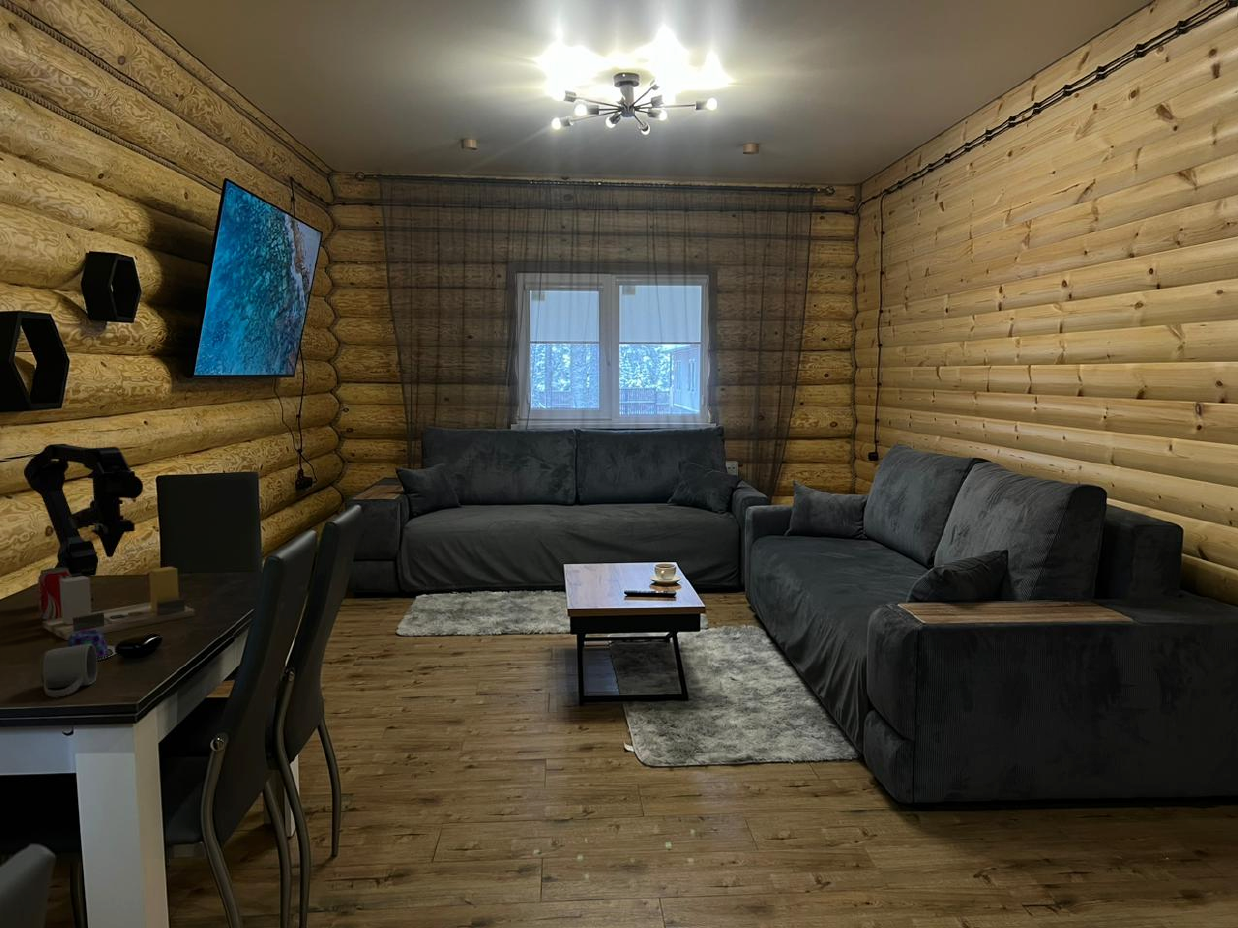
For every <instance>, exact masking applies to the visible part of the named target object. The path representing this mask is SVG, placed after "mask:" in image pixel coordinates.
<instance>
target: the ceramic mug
mask: <svg viewBox="0 0 1238 928" xmlns="http://www.w3.org/2000/svg"><path fill="white" fill-rule="evenodd" d="M38 667H39V668H38V671H39V679H40V682H41V684H42V685H43V690H44V693H45V695H46V696H49V697H51V698H60V697H59V696H63V697H66V696H65V695H67V696H68V695H71V694H73V693H75V692H76V691H77V690H78V689H80V687H85V686H91V684H92V683H93V682H94V681H95V682H96V679H97V674H98V660H97V654H96V650H95V648H94V646H93V645H92V644H84V645H78V646H72V647H67V646H66V647H59V648H58V647H57V648H53V649H50V650H48V651H45V652H44V653H42V655H41V657H40V661H39V666H38ZM89 681H91V682H89ZM95 682H94V683H95ZM94 683H93V684H94ZM93 684H92V685H93ZM61 687H62V688H64V689H61ZM52 689H58V690H52Z"/></svg>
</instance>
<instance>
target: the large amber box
mask: <svg viewBox="0 0 1238 928" xmlns="http://www.w3.org/2000/svg"><path fill="white" fill-rule="evenodd" d="M148 573H149V575H148V576H149V595H150V596H149V597H150V602H151V610H153V611H155V612H157V603H158V602H163V601H169V600H175V599H180V598H179V597H180V596H179V583H178V582H179V580H178V579H179V578H178V577H179V576H178V575H179V574H178V568H176V567H173V566H166V567H165V566H164V567H157V568H151V569H148Z"/></svg>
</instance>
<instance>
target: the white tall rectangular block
mask: <svg viewBox="0 0 1238 928" xmlns="http://www.w3.org/2000/svg"><path fill="white" fill-rule="evenodd" d="M60 597H61V614H62V622H64V623H66V624H67V625H69V624H73V617H79V616H85V615H90V614H92V613H93V612H92V600H91V597H92V596H91V581H90V578H89V577H88V576H87V577H85V576H80V577H73V578H66V579H60Z"/></svg>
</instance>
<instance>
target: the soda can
mask: <svg viewBox="0 0 1238 928" xmlns="http://www.w3.org/2000/svg"><path fill="white" fill-rule="evenodd" d="M68 570H69V569H68V568H55V567H51V568H45V569H42V570H40V575H39V577H38V579H37V590H38V606H39V613H40V615H39V616H40V619H43V620H44V621H47V620H53V619H59V618H62V614H61V597H60V579H66V578H72V575H71V574H70V573H69V571H68Z"/></svg>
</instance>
